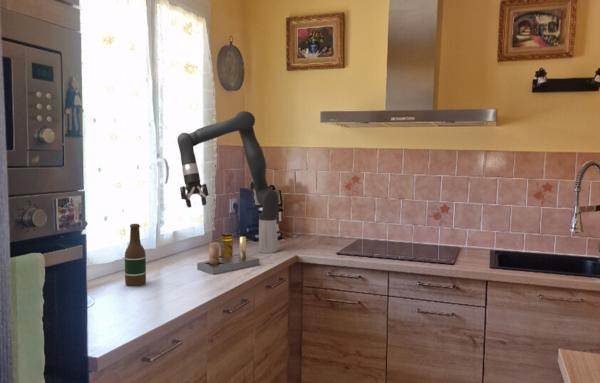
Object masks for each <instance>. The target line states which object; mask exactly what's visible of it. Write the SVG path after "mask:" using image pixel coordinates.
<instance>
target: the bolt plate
mask: <svg viewBox="0 0 600 383" xmlns="http://www.w3.org/2000/svg"><path fill="white" fill-rule="evenodd" d="M238 250H239V254H238V255H232V257H227V258H221V259H219V265H215V266H211V265H209V260H206V261H201V262H197V263H196V267H197V268H196V270H197V271H201V272H203V273H204V272H205V273H207V274H210V275H216V274H217V275H218V274H222V273H223V274H224V273H226V272H231V271H236V270H243V269H246V268H251V267H257V266H259V265H260V258H257V257H253V256H250V255H247V237H246V236H239V248H238Z"/></svg>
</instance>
